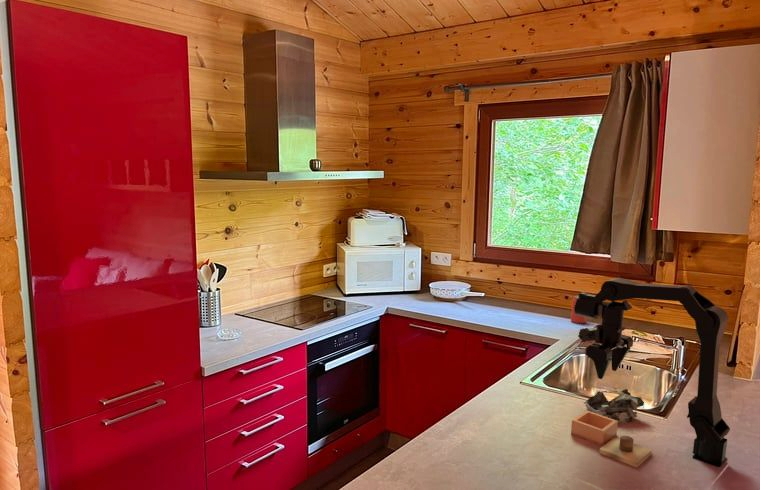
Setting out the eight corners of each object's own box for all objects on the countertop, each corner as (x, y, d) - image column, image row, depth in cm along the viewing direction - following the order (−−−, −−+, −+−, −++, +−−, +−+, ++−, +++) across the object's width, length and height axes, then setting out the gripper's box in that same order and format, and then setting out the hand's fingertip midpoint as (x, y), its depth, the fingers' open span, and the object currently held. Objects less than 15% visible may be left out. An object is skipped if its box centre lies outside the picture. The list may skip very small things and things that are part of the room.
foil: (586, 393, 183) (631, 377, 175) (603, 426, 181) (649, 411, 173) (576, 404, 174) (623, 388, 166) (593, 439, 171) (642, 424, 164)
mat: (652, 455, 152) (652, 454, 152) (637, 469, 145) (637, 468, 145) (614, 441, 159) (614, 440, 159) (598, 454, 152) (598, 453, 152)
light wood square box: (616, 436, 162) (617, 420, 162) (602, 447, 156) (603, 431, 155) (585, 425, 169) (586, 410, 168) (570, 435, 162) (571, 420, 162)
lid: (651, 454, 152) (653, 439, 152) (636, 467, 146) (638, 451, 145) (615, 440, 159) (616, 426, 158) (599, 453, 152) (600, 438, 152)
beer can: (587, 324, 269) (589, 298, 267) (573, 323, 269) (575, 298, 267) (582, 320, 276) (584, 295, 274) (568, 319, 276) (570, 294, 274)
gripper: (599, 310, 178) (594, 359, 180) (569, 322, 165) (565, 374, 167) (636, 318, 170) (631, 369, 173) (608, 331, 157) (603, 386, 160)
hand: (607, 374), depth 168 cm, fingers open, 9 cm apart
